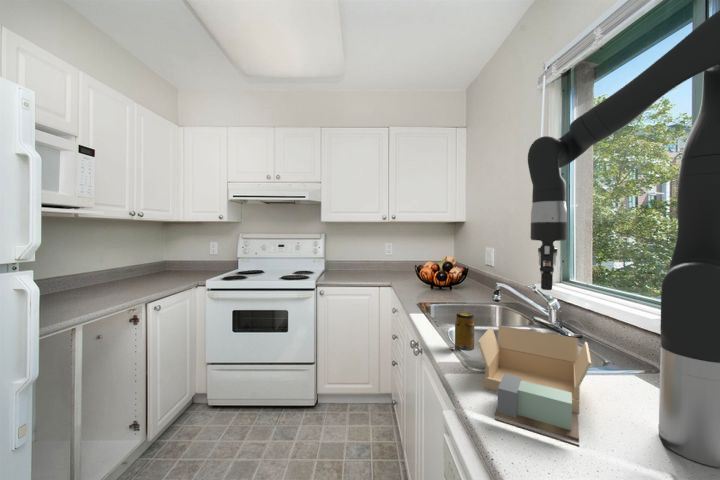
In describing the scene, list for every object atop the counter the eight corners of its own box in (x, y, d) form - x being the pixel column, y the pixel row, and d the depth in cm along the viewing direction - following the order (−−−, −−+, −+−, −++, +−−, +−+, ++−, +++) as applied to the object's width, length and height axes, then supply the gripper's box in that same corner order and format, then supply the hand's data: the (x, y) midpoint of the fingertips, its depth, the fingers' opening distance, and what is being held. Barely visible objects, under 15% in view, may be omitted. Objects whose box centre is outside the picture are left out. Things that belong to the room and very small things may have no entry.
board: (577, 421, 62) (577, 414, 62) (578, 447, 55) (579, 438, 55) (502, 400, 70) (502, 394, 70) (494, 420, 63) (494, 412, 63)
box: (571, 413, 63) (571, 389, 63) (571, 434, 56) (572, 407, 56) (503, 395, 70) (504, 373, 70) (497, 412, 63) (497, 388, 63)
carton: (585, 385, 78) (586, 339, 78) (590, 421, 63) (591, 364, 62) (491, 363, 90) (492, 324, 90) (475, 389, 75) (476, 341, 75)
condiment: (463, 345, 106) (464, 310, 106) (484, 353, 98) (485, 316, 98) (448, 349, 102) (448, 313, 102) (468, 358, 95) (469, 319, 95)
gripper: (567, 219, 67) (566, 293, 68) (565, 222, 79) (564, 284, 80) (528, 220, 71) (527, 290, 72) (532, 222, 83) (531, 282, 84)
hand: (546, 287), depth 76 cm, fingers open, 8 cm apart
